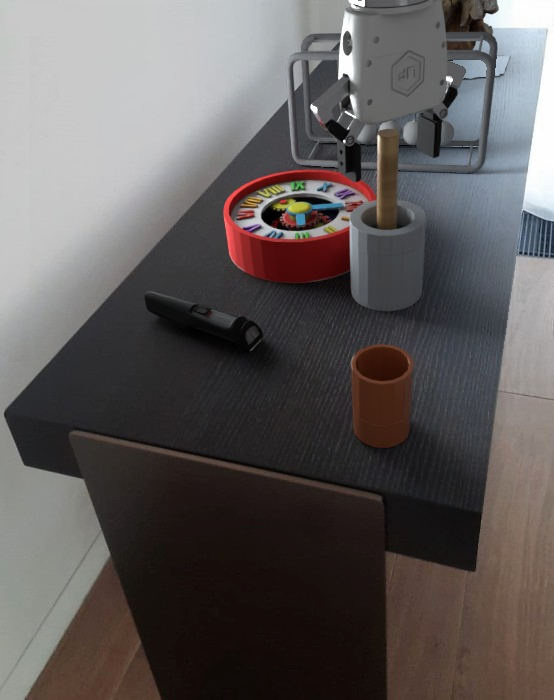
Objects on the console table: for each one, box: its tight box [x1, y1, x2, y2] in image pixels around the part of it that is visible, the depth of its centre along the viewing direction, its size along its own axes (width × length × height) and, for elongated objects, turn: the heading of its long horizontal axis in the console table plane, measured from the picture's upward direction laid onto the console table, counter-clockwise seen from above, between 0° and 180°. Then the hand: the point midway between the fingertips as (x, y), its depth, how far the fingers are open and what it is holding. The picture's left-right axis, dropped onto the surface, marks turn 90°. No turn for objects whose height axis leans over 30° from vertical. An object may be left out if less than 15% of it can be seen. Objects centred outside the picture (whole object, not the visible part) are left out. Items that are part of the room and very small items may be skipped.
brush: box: [376, 129, 400, 230], centre depth 78 cm, size 3×3×19 cm
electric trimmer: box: [143, 290, 264, 352], centre depth 81 cm, size 4×16×3 cm, turn 57°
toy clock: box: [223, 169, 377, 284], centre depth 93 cm, size 20×6×20 cm
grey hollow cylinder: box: [349, 199, 427, 312], centre depth 81 cm, size 8×8×10 cm
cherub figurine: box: [441, 0, 500, 61], centre depth 140 cm, size 18×18×18 cm
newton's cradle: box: [285, 32, 499, 174], centre depth 108 cm, size 30×10×18 cm, turn 74°
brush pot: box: [350, 343, 415, 449], centre depth 64 cm, size 5×5×8 cm
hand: (390, 165), depth 74 cm, fingers open, 9 cm apart
